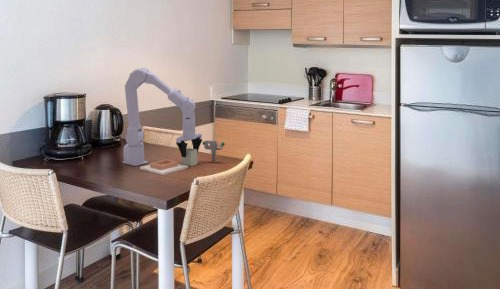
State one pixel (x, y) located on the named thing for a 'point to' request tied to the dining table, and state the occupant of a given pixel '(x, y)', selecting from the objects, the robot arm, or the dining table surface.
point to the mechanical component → (213, 147)
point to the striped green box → (190, 157)
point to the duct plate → (164, 167)
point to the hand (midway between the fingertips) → (189, 155)
